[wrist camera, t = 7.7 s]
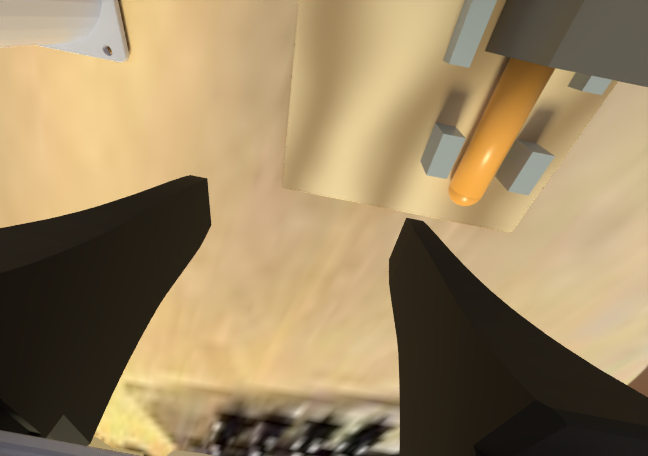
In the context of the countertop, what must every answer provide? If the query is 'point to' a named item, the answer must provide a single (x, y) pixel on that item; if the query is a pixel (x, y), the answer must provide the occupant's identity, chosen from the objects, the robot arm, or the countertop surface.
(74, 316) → the robot arm
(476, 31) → the holder
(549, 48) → the plug
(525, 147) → the clip
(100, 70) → the countertop surface
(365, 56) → the board
